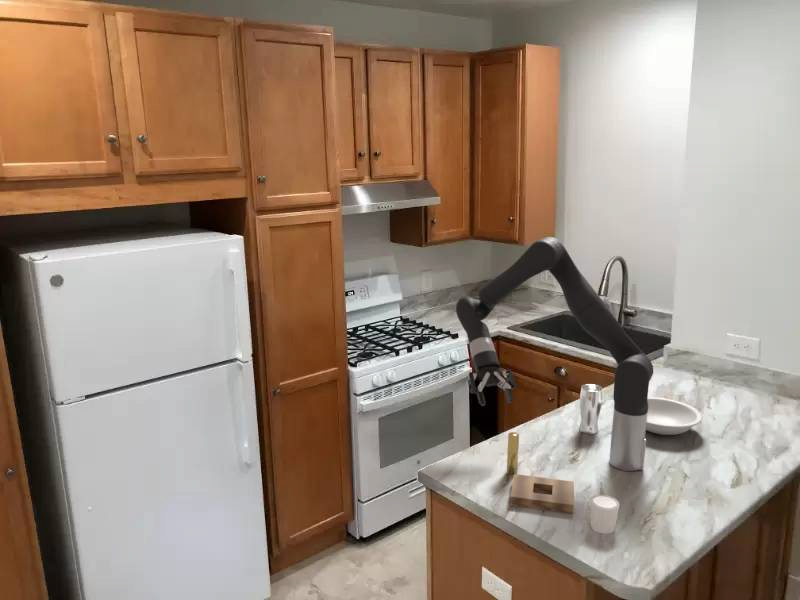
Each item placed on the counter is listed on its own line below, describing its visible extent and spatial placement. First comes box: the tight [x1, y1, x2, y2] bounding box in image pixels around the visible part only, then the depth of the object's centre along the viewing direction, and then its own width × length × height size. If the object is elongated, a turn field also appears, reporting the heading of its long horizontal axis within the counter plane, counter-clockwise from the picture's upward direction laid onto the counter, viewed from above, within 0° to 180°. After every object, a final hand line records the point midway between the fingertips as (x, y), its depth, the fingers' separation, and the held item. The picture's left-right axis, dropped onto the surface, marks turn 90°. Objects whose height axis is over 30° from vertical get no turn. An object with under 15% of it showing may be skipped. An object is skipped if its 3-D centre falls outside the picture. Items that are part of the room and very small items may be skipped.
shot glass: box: [589, 494, 620, 535], centre depth 155 cm, size 7×7×7 cm
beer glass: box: [578, 383, 603, 435], centre depth 208 cm, size 7×7×15 cm
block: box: [509, 473, 575, 515], centre depth 169 cm, size 16×12×2 cm
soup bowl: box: [646, 396, 703, 436], centre depth 209 cm, size 24×24×7 cm
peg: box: [506, 431, 520, 477], centre depth 180 cm, size 3×3×12 cm
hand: (497, 403), depth 189 cm, fingers open, 8 cm apart
